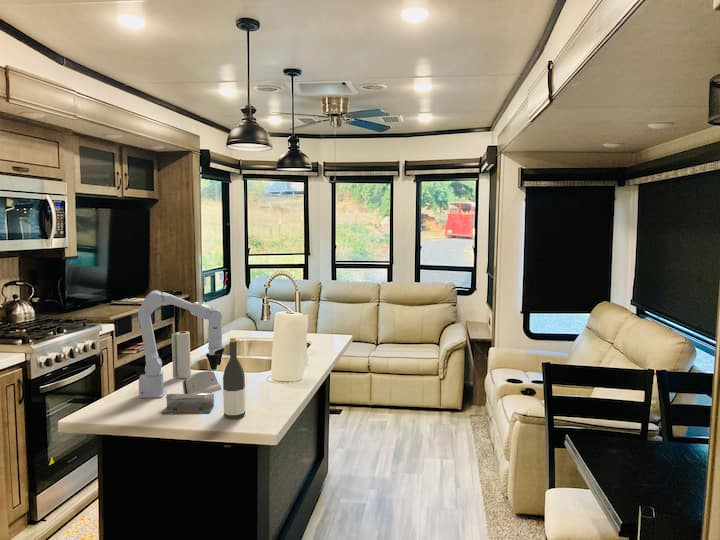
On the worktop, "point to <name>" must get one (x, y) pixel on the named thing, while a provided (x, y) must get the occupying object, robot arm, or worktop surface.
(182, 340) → the paper towel roll
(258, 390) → the worktop surface
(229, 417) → the wine bottle
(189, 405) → the fixed leaf
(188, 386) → the beige piece
